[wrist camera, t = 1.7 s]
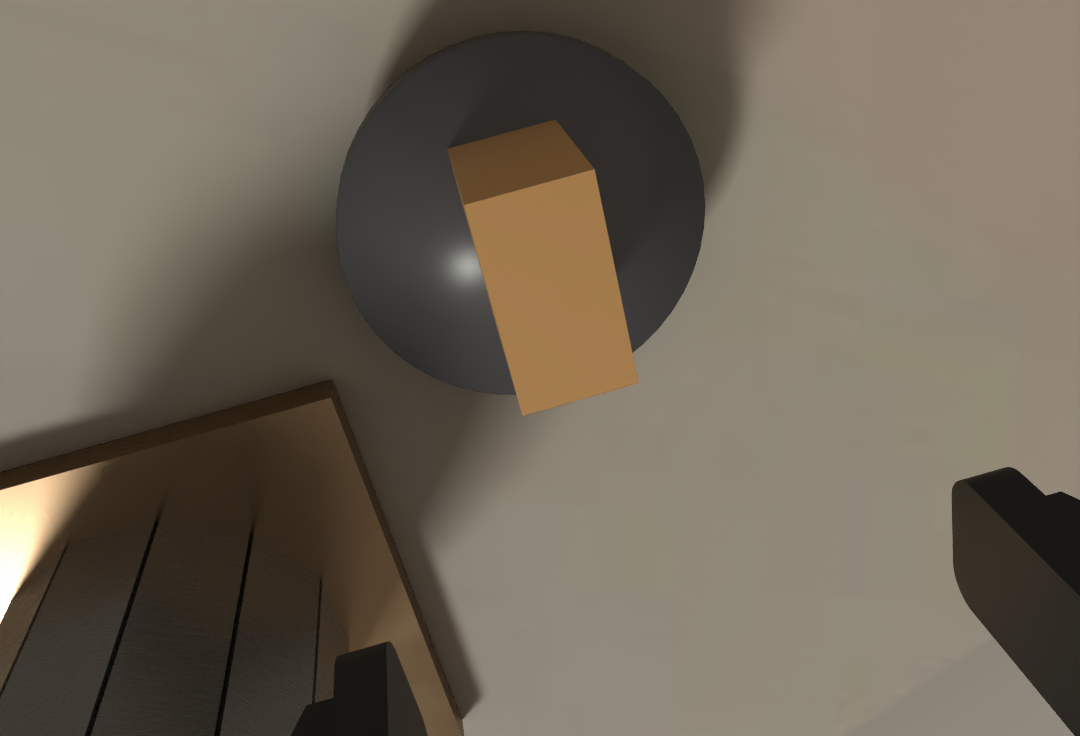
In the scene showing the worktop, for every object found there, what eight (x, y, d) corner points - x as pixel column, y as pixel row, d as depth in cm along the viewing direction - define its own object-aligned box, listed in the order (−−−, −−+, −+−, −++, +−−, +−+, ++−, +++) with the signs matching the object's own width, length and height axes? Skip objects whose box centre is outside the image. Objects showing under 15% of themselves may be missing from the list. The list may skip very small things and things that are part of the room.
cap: (287, 78, 27) (261, 144, 20) (649, -19, 27) (740, 15, 20) (397, 395, 32) (405, 532, 25) (702, 309, 32) (790, 422, 25)
